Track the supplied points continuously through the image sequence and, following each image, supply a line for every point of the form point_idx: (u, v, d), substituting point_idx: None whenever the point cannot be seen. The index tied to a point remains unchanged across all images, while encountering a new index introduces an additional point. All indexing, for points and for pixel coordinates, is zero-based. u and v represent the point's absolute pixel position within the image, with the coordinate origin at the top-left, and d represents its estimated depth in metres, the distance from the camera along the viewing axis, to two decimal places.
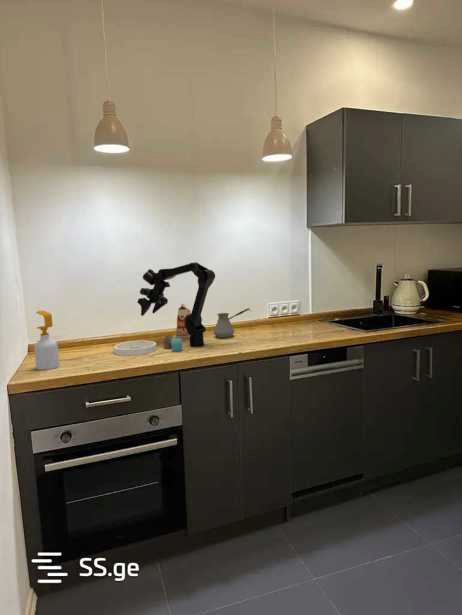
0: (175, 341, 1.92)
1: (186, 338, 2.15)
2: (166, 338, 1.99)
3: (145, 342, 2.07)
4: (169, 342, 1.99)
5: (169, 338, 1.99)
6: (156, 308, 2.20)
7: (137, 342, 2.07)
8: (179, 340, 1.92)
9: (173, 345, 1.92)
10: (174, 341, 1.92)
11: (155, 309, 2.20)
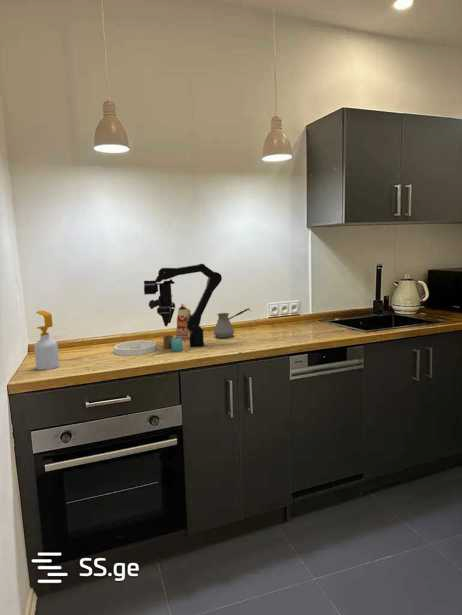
0: (175, 341, 1.92)
1: (186, 338, 2.15)
2: (166, 338, 1.99)
3: (145, 342, 2.07)
4: (169, 342, 1.99)
5: (169, 338, 1.99)
6: (170, 316, 2.04)
7: (137, 342, 2.07)
8: (179, 340, 1.92)
9: (173, 345, 1.92)
10: (174, 341, 1.92)
11: (169, 317, 2.04)
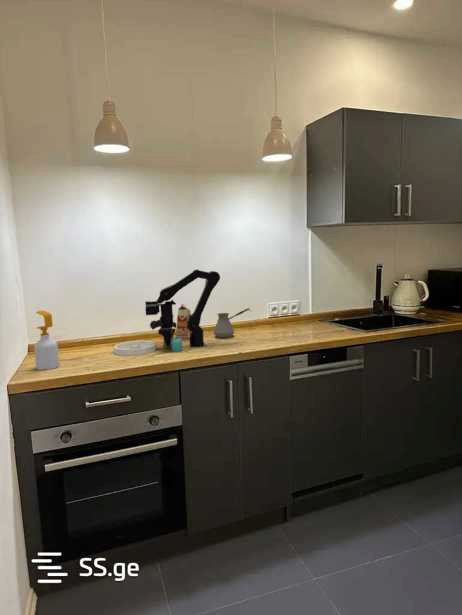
0: (175, 341, 1.92)
1: (186, 338, 2.15)
2: None
3: (145, 342, 2.07)
4: None
5: None
6: None
7: (137, 342, 2.07)
8: (179, 340, 1.92)
9: (173, 345, 1.92)
10: (174, 341, 1.92)
11: None
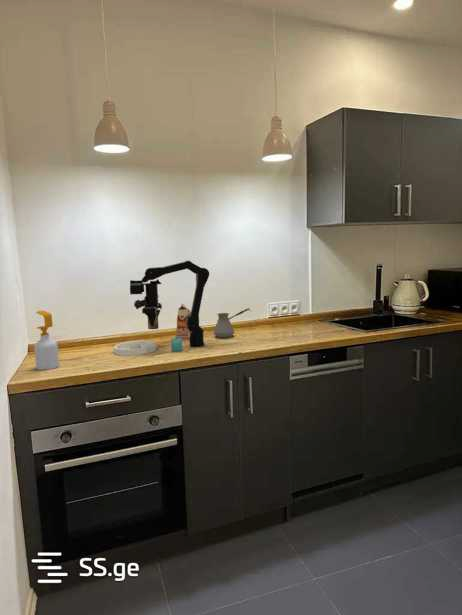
0: (175, 341, 1.92)
1: (186, 338, 2.15)
2: None
3: (145, 342, 2.07)
4: None
5: None
6: None
7: (137, 342, 2.07)
8: (179, 340, 1.92)
9: (173, 345, 1.92)
10: (174, 341, 1.92)
11: None
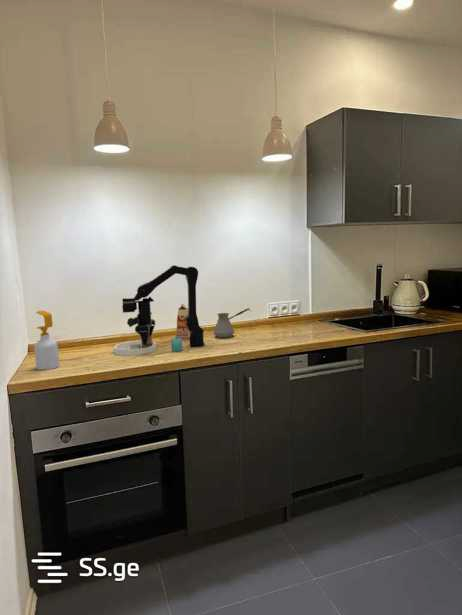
0: (175, 341, 1.92)
1: (186, 338, 2.15)
2: None
3: None
4: None
5: None
6: (149, 333, 2.02)
7: (137, 342, 2.07)
8: (179, 340, 1.92)
9: (173, 345, 1.92)
10: (174, 341, 1.92)
11: (149, 335, 2.02)
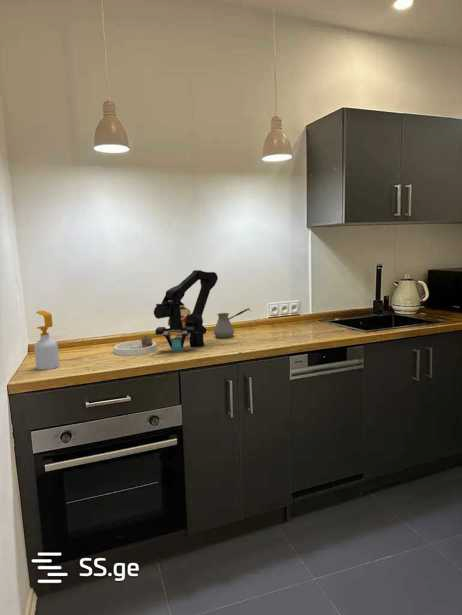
0: (175, 341, 1.92)
1: (186, 338, 2.15)
2: (144, 338, 1.96)
3: None
4: (146, 342, 1.96)
5: (147, 338, 1.96)
6: (182, 340, 1.93)
7: (137, 342, 2.07)
8: (179, 340, 1.92)
9: (173, 345, 1.92)
10: (174, 341, 1.92)
11: None
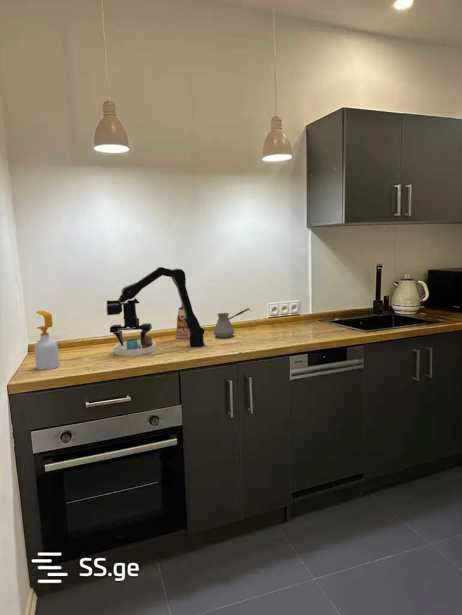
0: (130, 342, 1.90)
1: (186, 338, 2.15)
2: (144, 338, 1.96)
3: None
4: (146, 342, 1.96)
5: (147, 338, 1.96)
6: None
7: (137, 342, 2.07)
8: (134, 341, 1.90)
9: (128, 346, 1.90)
10: (129, 342, 1.90)
11: None
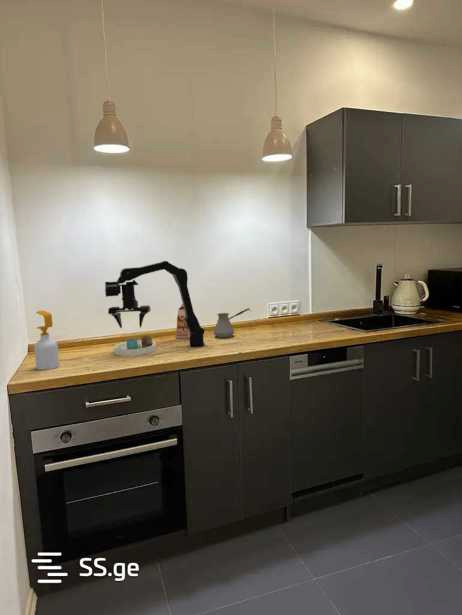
0: (130, 342, 1.90)
1: (186, 338, 2.15)
2: (144, 338, 1.96)
3: None
4: (146, 342, 1.96)
5: (147, 338, 1.96)
6: None
7: (137, 342, 2.07)
8: (134, 341, 1.90)
9: (128, 346, 1.90)
10: (129, 342, 1.90)
11: None
